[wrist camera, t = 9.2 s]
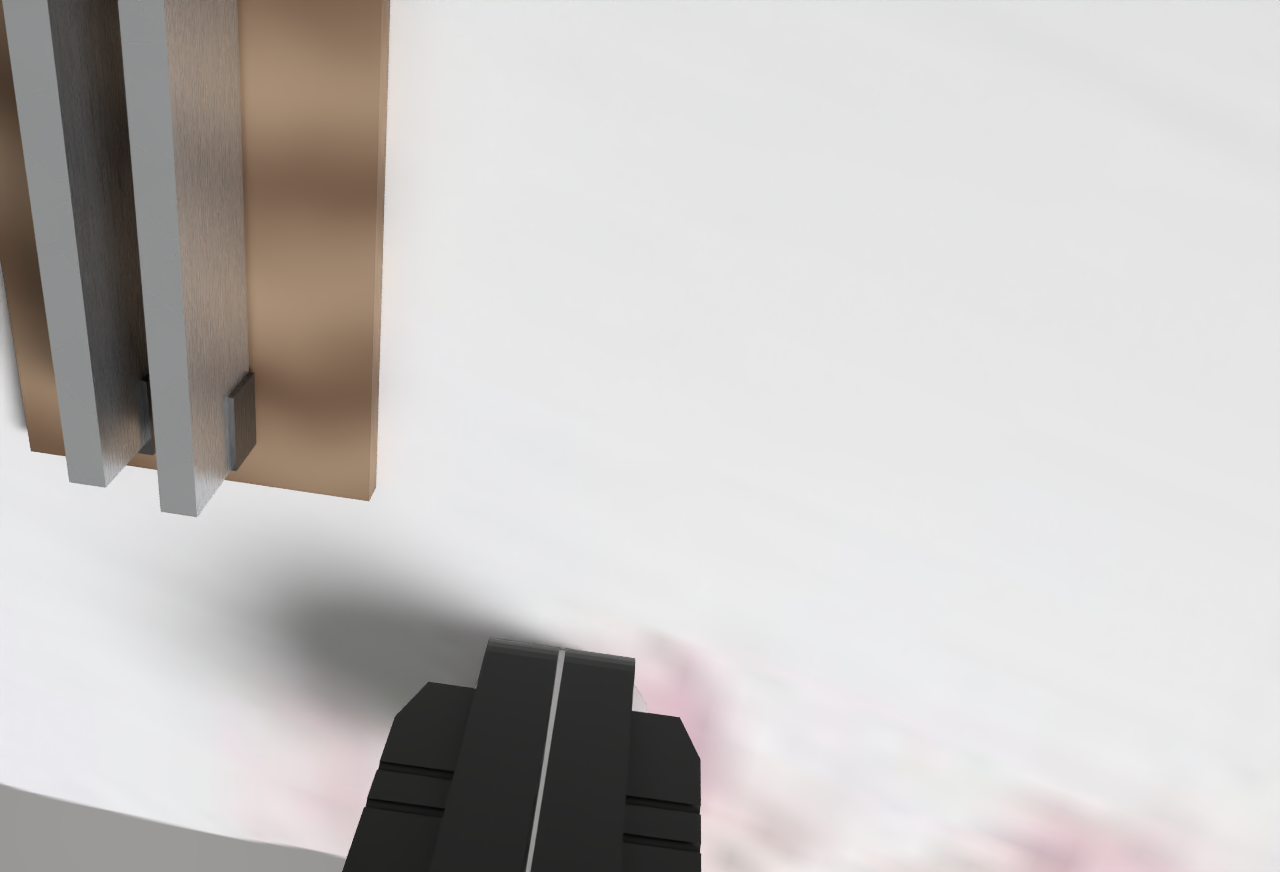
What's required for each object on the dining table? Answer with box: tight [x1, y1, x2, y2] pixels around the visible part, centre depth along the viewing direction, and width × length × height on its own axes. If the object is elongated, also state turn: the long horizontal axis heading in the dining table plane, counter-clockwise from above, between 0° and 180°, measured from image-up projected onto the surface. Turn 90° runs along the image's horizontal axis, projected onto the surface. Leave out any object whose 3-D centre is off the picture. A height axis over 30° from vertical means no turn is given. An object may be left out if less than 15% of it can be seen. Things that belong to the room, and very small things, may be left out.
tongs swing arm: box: [118, 0, 257, 517], centre depth 33 cm, size 20×2×5 cm, turn 171°
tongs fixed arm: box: [2, 0, 156, 487], centre depth 32 cm, size 24×4×6 cm, turn 172°
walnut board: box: [0, 0, 390, 501], centre depth 35 cm, size 26×13×1 cm, turn 172°
